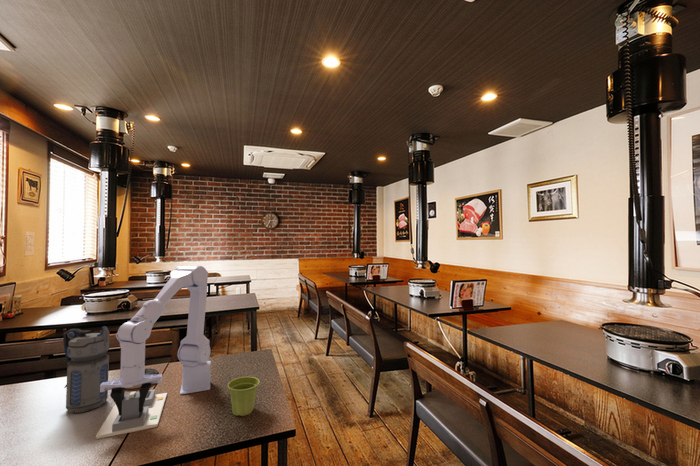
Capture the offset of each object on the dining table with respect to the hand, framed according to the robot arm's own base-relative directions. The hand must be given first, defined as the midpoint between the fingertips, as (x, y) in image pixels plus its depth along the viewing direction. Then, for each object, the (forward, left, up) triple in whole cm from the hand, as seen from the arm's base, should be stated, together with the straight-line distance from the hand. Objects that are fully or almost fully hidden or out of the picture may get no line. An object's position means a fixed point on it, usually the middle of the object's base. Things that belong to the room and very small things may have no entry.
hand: (131, 412), depth 89 cm
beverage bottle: (+16, -18, -4) cm, 24 cm away
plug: (0, 0, -3) cm, 3 cm away
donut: (+3, -31, -4) cm, 31 cm away
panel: (0, -6, -4) cm, 7 cm away
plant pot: (-30, +5, -4) cm, 31 cm away
